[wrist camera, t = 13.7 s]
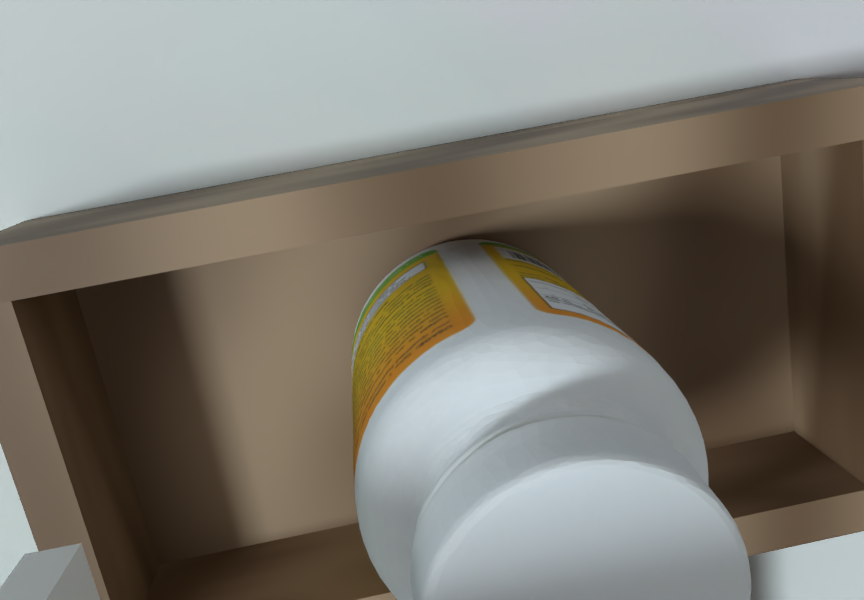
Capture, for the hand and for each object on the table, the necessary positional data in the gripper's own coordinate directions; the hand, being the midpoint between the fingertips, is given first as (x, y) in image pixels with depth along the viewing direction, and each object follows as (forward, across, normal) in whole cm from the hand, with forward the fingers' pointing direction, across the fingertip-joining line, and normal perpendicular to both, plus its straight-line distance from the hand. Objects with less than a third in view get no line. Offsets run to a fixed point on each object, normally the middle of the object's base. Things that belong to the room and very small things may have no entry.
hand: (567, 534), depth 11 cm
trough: (+9, +1, 0) cm, 9 cm away
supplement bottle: (+8, 0, 0) cm, 8 cm away
